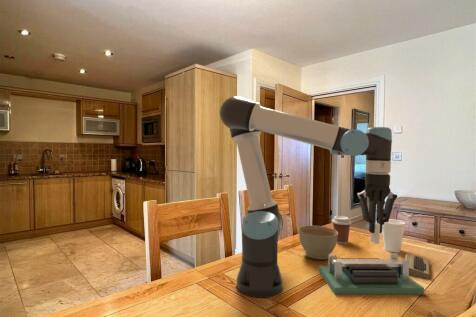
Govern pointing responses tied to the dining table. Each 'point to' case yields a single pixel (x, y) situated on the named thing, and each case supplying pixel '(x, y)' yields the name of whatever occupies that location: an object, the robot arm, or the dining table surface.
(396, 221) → the foam cup
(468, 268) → the dining table surface
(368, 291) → the circuit board
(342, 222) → the coffee cup
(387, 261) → the steel strap
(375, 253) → the dining table surface
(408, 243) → the dining table surface
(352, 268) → the heat sink mount
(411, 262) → the computer
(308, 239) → the planter bowl
